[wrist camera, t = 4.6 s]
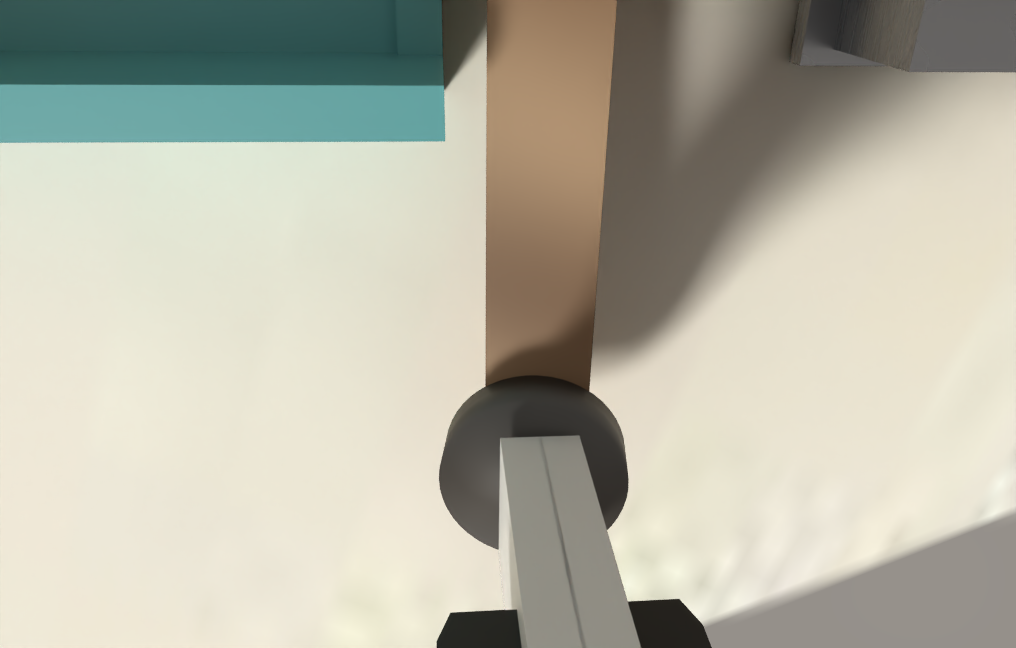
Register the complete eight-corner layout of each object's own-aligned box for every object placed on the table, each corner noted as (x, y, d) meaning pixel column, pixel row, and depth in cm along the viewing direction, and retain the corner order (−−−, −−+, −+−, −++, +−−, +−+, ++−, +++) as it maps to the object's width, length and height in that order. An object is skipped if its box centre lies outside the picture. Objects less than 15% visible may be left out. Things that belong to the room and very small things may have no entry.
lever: (443, -526, 11) (393, -716, 8) (1738, -540, 10) (2280, -760, 7) (458, 464, 19) (436, 576, 15) (1204, 502, 18) (1348, 629, 14)
